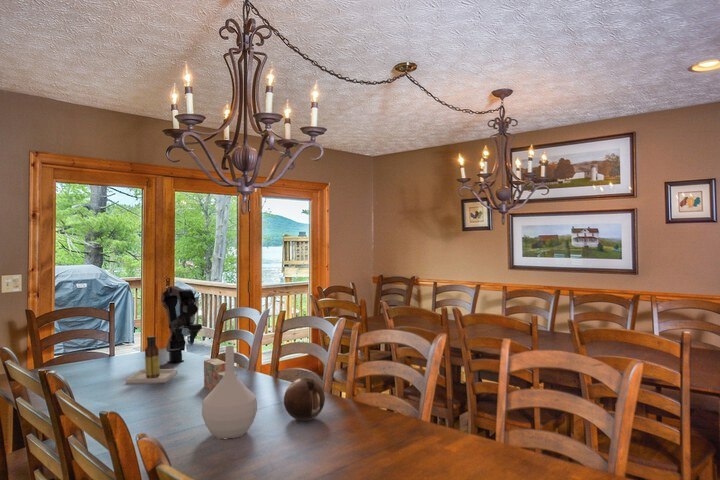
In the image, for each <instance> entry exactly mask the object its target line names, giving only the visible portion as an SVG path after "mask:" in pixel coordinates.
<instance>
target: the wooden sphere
mask: <svg viewBox="0 0 720 480" xmlns="http://www.w3.org/2000/svg"><path fill="white" fill-rule="evenodd" d="M325 402H326V396H325V392H324V389H323V387H322V385H321V384H319V382H317V381H316V380H314V379H312V378H308V377H301V378H297V379H295V380H294V381H292V382H291V383H290V384H289V385H288V386H287V388H285V392H284V395H283V405H284V409H285V411H286V412H287V414H288V415H289V416H290V417H292V418H293V420H294V419H295V420H296V421H297V420H298V421H301V422H305V421H307V422H308V421H311V420H312V419H315V418H316V417H318V416H319V415H320V413H321V412H322V410H323V409H324V407H325Z"/></svg>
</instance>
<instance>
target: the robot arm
mask: <svg viewBox="0 0 720 480" xmlns="http://www.w3.org/2000/svg"><path fill="white" fill-rule="evenodd" d="M196 300H197V299H196V296H195V294H194V290H192V289H191V288H189V289H184V288H181V287H179V286H178V285H177V286H176V285H174V286H168V287H167V289H166V290H165V291H164V292H162V295H161V298H160V301H161V304H162V307H164V309H165V310H166V314H167V319H168V329H169V334H170V335H169V336H168V342H167V344H166V347H165V348H166V349H165V351H166V352H168V353H169V354H168V359H169V360H166V363H167V364H168V363H169V364H178V363H182V362H185V360H184V359H183V352H182V351H185V349H186V339H185V336H184V334H183V329H188V330H187V332H188V334H189V340H190V344H193V343H194V342H195V339H196V337H197V335H198V333H199V332H200V331H201V330H202V329H203V325H202V324H201V323H193V322H192V318H193V316H194V315H196V314H197V313H198V309H199V308H198V306H197V304H195V303H196ZM178 304H179V314H177V309H176V307H177V305H178Z"/></svg>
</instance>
